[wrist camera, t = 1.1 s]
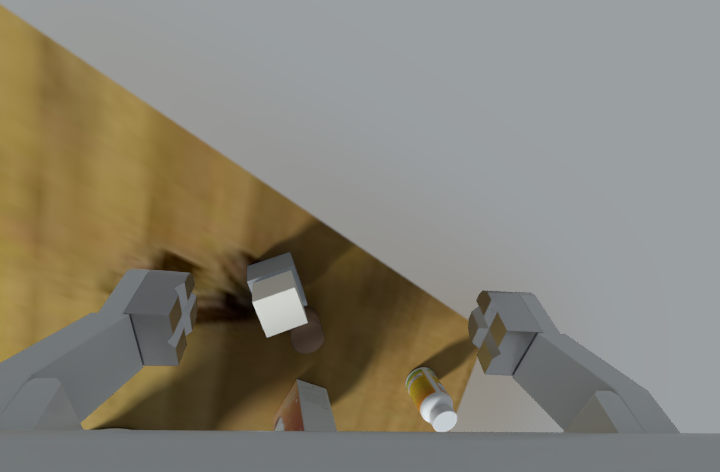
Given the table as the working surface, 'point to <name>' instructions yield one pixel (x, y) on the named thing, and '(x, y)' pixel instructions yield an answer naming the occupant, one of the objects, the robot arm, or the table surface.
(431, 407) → the supplement bottle
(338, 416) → the table surface
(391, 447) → the robot arm
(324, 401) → the small box
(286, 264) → the base block
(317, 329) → the walnut cylinder
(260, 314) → the top block
